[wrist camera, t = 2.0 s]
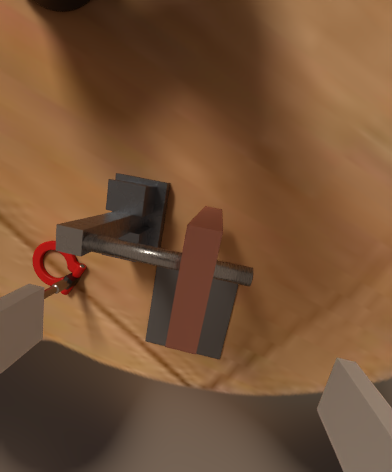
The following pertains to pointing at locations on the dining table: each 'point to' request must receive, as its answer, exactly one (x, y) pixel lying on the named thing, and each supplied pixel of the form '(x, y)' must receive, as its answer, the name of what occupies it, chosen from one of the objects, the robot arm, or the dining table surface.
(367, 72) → the dining table surface
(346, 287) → the dining table surface
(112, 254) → the toilet paper holder
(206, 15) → the dining table surface
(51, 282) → the tow hook
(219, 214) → the reddish-brown c-shaped bracket
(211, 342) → the mat
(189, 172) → the dining table surface
